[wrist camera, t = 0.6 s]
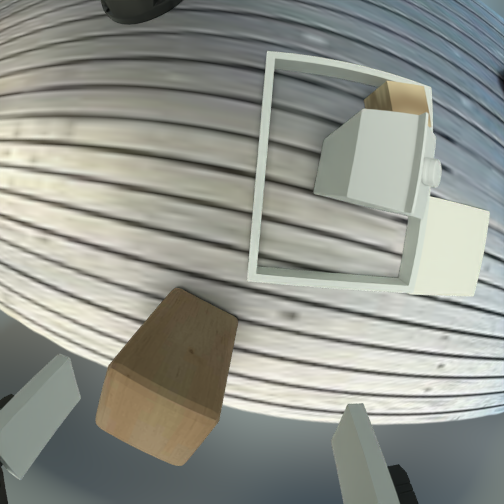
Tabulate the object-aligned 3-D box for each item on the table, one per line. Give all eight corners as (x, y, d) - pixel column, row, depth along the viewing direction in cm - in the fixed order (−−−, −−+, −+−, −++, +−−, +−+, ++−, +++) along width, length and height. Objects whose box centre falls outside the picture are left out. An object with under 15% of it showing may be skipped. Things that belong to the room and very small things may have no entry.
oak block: (363, 99, 31) (386, 80, 24) (396, 102, 31) (424, 86, 23) (368, 135, 32) (394, 123, 25) (401, 136, 32) (431, 127, 24)
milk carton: (312, 193, 34) (364, 199, 16) (323, 139, 33) (381, 93, 14) (364, 206, 34) (451, 227, 16) (374, 154, 33) (464, 131, 14)
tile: (422, 195, 34) (426, 195, 33) (486, 211, 33) (489, 211, 32) (406, 291, 37) (409, 294, 36) (470, 294, 36) (473, 296, 35)
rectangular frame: (266, 62, 31) (267, 51, 27) (419, 93, 30) (431, 87, 27) (248, 272, 37) (246, 281, 34) (402, 284, 36) (413, 293, 33)
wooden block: (241, 316, 38) (222, 423, 19) (211, 366, 40) (181, 471, 21) (176, 282, 38) (105, 364, 18) (152, 336, 40) (91, 426, 20)
